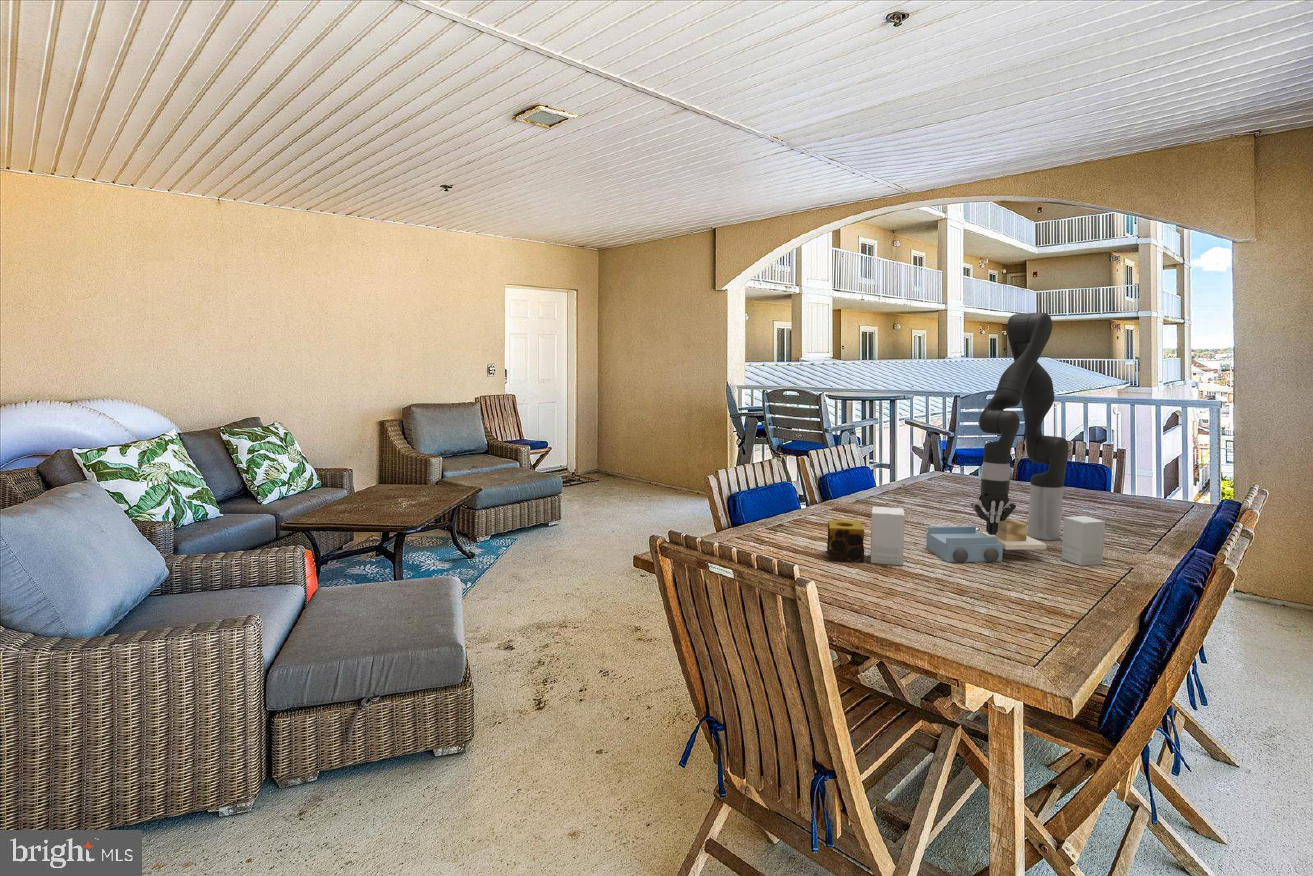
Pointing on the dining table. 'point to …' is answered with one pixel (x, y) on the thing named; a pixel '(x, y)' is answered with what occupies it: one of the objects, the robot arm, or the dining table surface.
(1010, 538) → the wooden block
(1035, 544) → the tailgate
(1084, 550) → the supplement box
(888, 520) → the supplement box
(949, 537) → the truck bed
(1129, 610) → the dining table surface
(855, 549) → the yellow spotted cube
